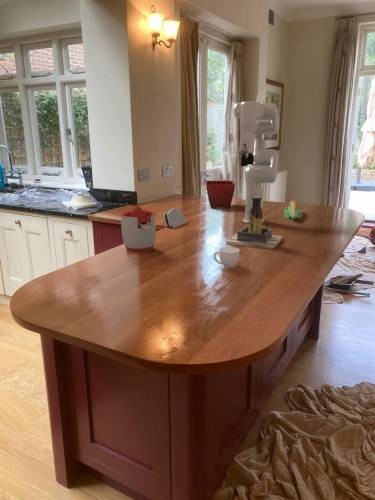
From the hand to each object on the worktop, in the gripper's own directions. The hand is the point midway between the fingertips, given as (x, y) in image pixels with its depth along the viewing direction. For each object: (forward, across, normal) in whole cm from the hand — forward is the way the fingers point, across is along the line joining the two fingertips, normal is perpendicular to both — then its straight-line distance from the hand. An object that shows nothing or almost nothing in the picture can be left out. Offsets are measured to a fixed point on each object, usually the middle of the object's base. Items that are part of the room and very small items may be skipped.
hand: (247, 165), depth 198 cm
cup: (+34, +53, +9) cm, 64 cm away
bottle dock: (+34, +14, +9) cm, 38 cm away
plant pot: (+35, -65, -39) cm, 83 cm away
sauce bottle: (+33, +14, +9) cm, 37 cm away
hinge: (+35, -5, -43) cm, 55 cm away
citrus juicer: (+34, +47, -34) cm, 67 cm away
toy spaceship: (+35, -49, +14) cm, 62 cm away
